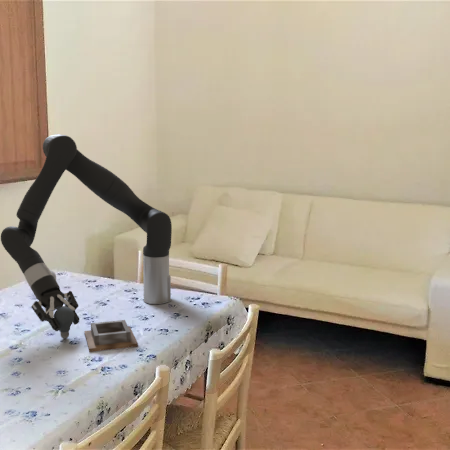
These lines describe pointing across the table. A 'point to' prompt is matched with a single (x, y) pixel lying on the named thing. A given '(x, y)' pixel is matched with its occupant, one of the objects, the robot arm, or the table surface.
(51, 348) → the table surface
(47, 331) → the table surface
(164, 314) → the table surface
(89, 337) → the socket stand
